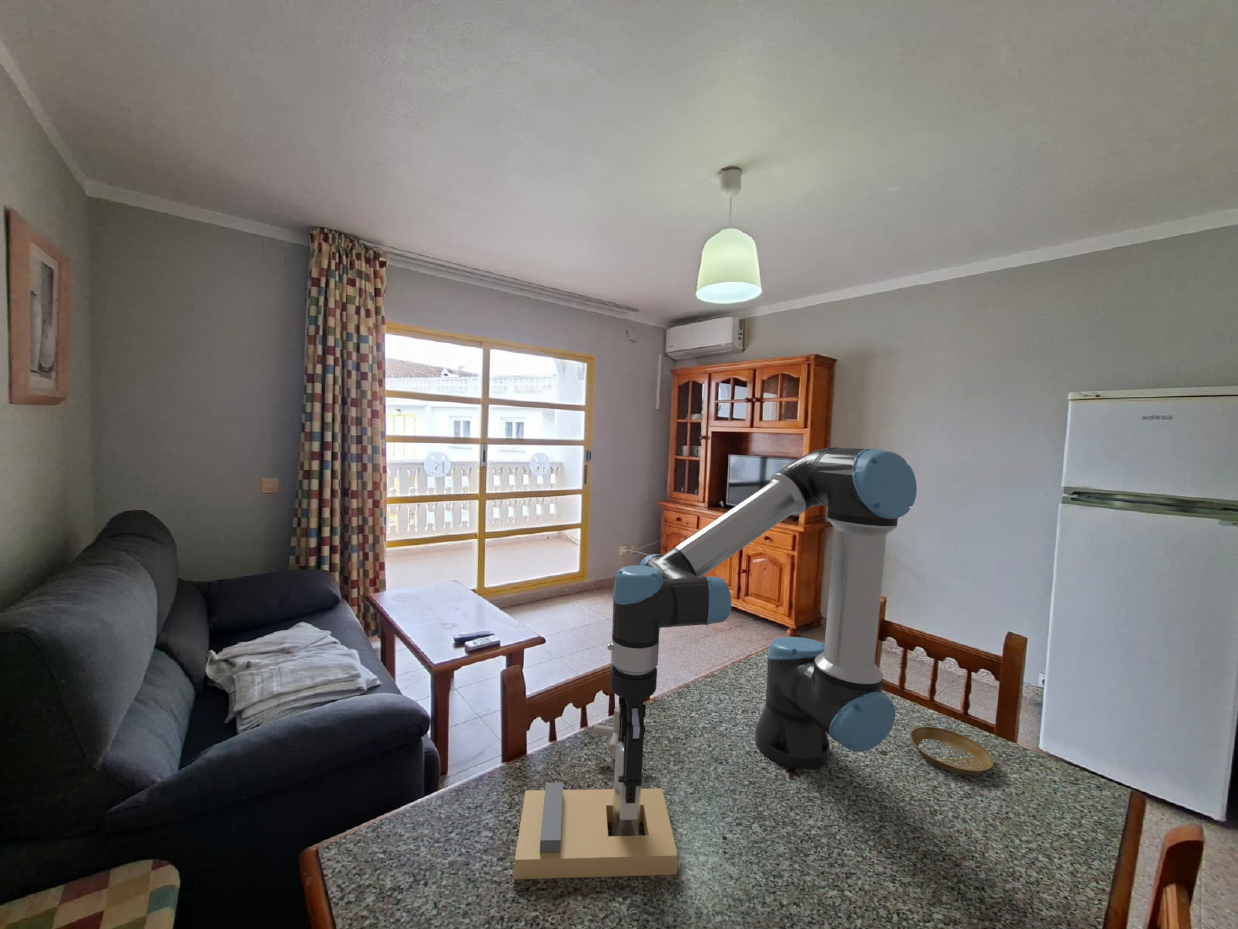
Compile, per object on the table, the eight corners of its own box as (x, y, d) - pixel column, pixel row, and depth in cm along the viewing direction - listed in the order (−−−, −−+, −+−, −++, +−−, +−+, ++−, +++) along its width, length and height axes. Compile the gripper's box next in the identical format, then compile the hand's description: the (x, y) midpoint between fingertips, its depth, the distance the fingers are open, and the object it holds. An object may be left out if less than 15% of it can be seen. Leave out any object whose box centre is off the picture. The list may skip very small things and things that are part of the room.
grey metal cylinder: (637, 821, 82) (641, 740, 81) (640, 843, 78) (644, 757, 77) (611, 821, 82) (614, 740, 81) (612, 843, 77) (616, 757, 76)
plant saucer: (1003, 792, 95) (1004, 779, 95) (916, 769, 100) (917, 757, 100) (979, 748, 108) (980, 736, 108) (903, 730, 114) (904, 720, 114)
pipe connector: (636, 778, 94) (639, 727, 93) (586, 769, 96) (588, 719, 95) (644, 746, 103) (646, 700, 103) (598, 738, 105) (600, 693, 105)
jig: (661, 804, 87) (662, 777, 87) (676, 874, 73) (678, 842, 73) (524, 807, 85) (525, 779, 85) (514, 879, 71) (515, 846, 71)
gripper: (607, 641, 86) (601, 769, 88) (614, 693, 69) (606, 851, 70) (649, 642, 87) (643, 769, 88) (666, 693, 70) (658, 850, 71)
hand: (626, 805), depth 79 cm, fingers closed on grey metal cylinder, 4 cm apart
